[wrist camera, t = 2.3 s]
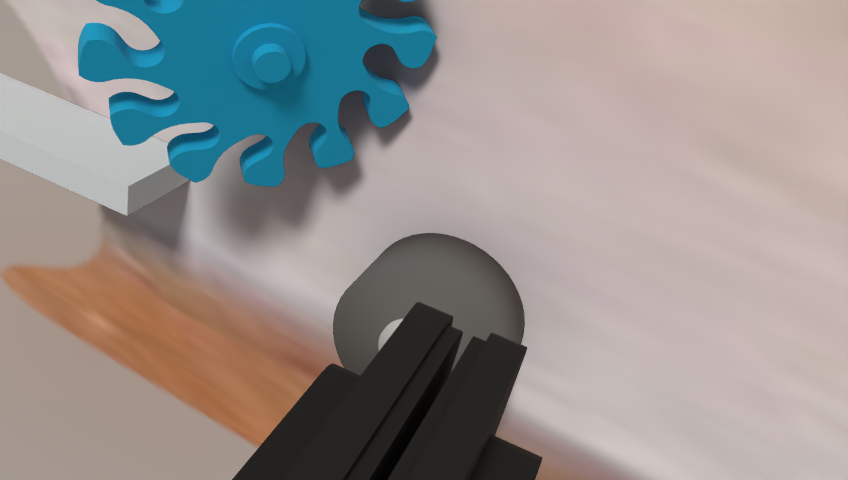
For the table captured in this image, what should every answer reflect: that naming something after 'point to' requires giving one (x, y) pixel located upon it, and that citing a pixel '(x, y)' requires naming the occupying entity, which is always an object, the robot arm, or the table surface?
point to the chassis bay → (80, 150)
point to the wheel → (426, 296)
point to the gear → (251, 76)
